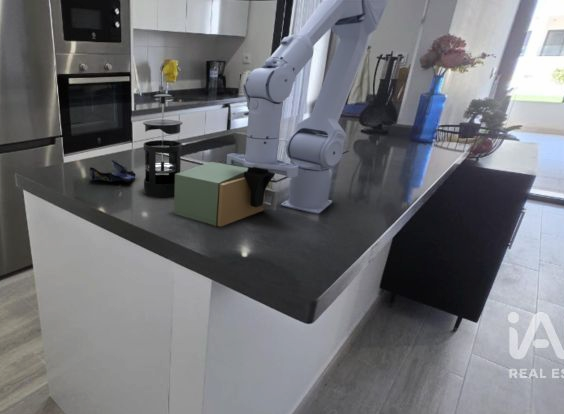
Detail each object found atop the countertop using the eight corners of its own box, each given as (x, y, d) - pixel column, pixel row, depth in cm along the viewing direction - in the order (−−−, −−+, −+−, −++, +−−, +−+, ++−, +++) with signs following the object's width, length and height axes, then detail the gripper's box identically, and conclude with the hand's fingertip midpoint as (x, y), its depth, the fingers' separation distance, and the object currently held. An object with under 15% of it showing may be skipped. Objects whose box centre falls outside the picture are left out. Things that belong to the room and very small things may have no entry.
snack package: (111, 173, 110) (82, 181, 102) (113, 152, 108) (83, 158, 99) (143, 187, 104) (115, 197, 95) (147, 165, 102) (118, 173, 93)
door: (277, 215, 78) (282, 175, 75) (235, 232, 70) (238, 189, 67) (260, 209, 81) (263, 171, 78) (217, 225, 73) (219, 184, 70)
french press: (167, 202, 86) (168, 96, 78) (133, 194, 91) (131, 95, 83) (191, 189, 95) (195, 93, 87) (160, 183, 100) (160, 92, 92)
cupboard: (248, 207, 83) (252, 168, 80) (215, 226, 73) (218, 183, 70) (209, 197, 89) (211, 161, 86) (174, 214, 79) (174, 174, 76)
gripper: (218, 134, 73) (214, 200, 78) (285, 144, 63) (277, 221, 68) (241, 130, 78) (236, 193, 82) (308, 139, 67) (298, 211, 72)
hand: (256, 205), depth 75 cm, fingers closed
